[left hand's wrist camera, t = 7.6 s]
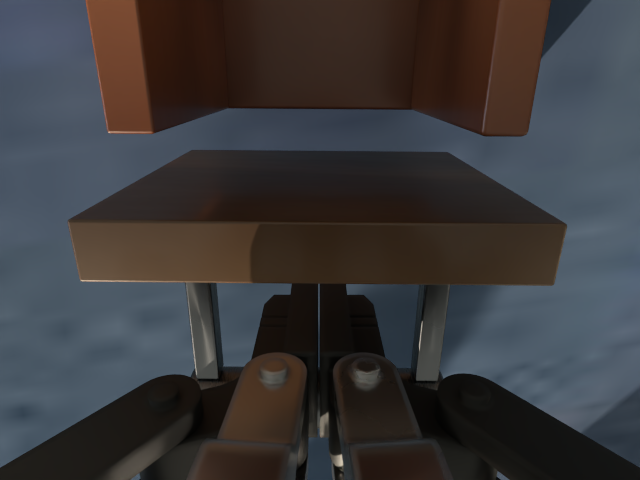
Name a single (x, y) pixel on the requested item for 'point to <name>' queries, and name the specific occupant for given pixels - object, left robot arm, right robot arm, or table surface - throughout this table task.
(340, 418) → the left robot arm
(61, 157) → the table surface
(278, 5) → the drawer
